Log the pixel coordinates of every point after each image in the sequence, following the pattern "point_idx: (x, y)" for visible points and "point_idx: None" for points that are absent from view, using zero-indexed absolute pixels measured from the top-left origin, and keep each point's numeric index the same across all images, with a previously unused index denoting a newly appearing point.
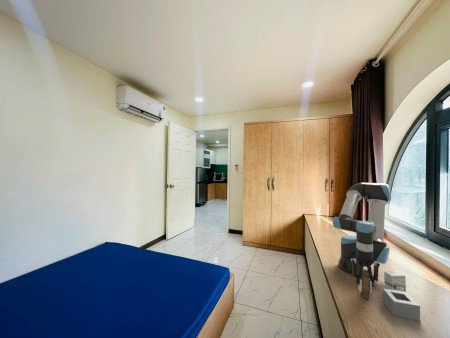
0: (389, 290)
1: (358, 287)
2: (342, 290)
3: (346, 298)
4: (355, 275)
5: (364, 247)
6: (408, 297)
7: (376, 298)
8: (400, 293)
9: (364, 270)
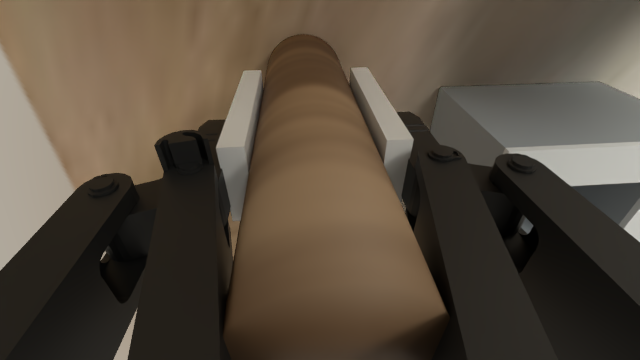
0: (553, 169)
1: (242, 80)
2: (88, 16)
3: (139, 144)
4: (133, 280)
5: None
6: (637, 221)
7: (409, 51)
8: (631, 180)
9: (335, 347)
